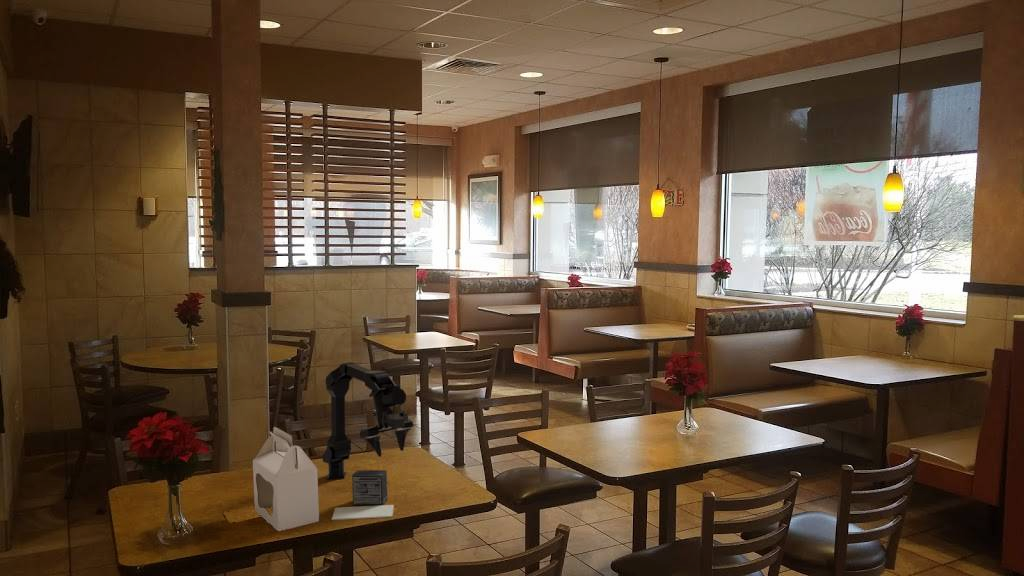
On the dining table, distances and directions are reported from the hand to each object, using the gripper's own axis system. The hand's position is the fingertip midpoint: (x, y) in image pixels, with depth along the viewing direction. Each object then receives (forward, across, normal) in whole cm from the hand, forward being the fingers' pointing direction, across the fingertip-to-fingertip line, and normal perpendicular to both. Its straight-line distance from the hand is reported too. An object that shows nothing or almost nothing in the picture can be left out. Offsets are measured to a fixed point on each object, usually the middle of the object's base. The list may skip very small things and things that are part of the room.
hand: (391, 453), depth 259 cm
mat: (+16, -15, -1) cm, 22 cm away
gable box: (+12, -34, +15) cm, 39 cm away
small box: (+15, -8, +6) cm, 18 cm away
